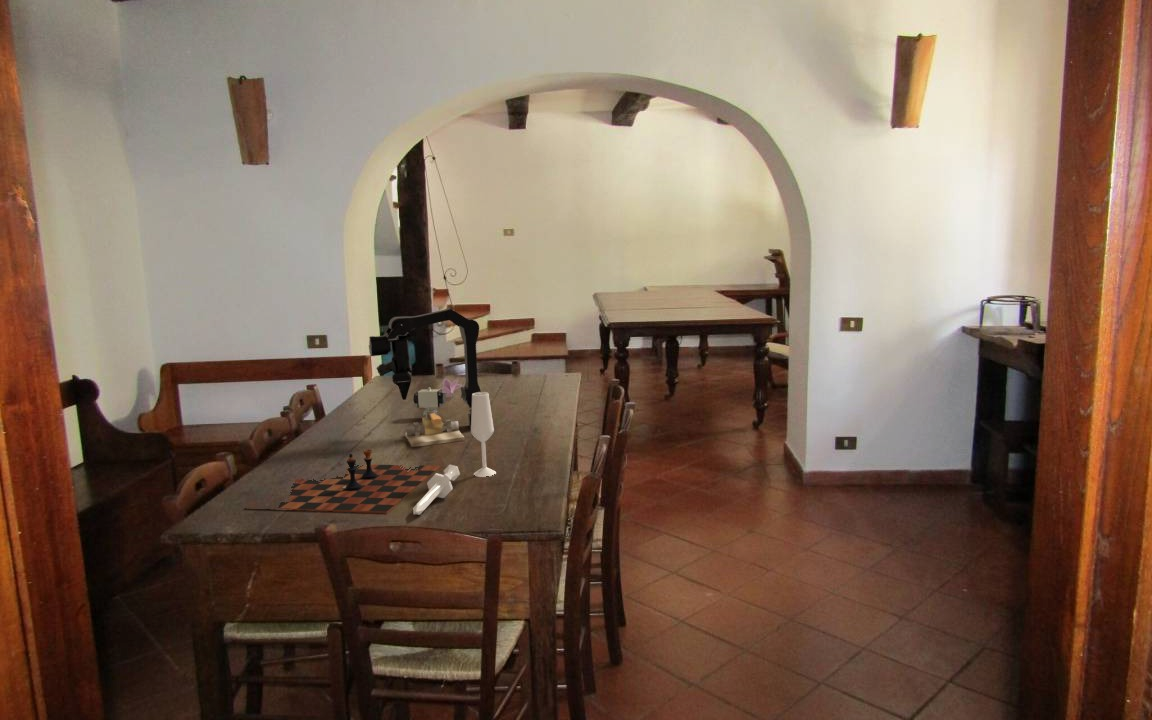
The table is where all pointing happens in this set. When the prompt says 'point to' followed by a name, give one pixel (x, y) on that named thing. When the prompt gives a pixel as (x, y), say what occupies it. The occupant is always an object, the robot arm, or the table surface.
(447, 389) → the lily
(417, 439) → the valve plank
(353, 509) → the chessboard
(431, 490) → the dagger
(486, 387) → the table surface
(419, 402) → the pneumatic valve
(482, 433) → the champagne flute
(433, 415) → the valve lever
